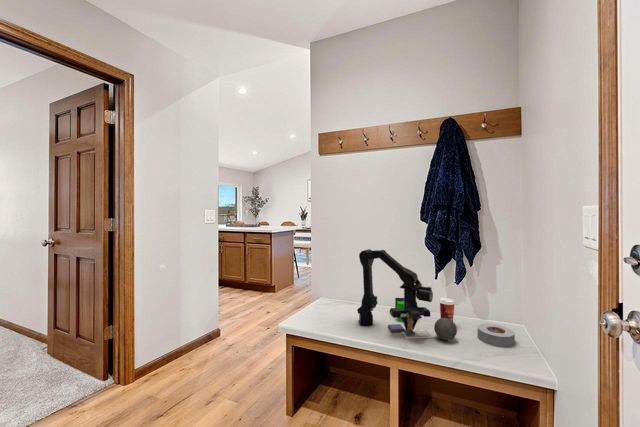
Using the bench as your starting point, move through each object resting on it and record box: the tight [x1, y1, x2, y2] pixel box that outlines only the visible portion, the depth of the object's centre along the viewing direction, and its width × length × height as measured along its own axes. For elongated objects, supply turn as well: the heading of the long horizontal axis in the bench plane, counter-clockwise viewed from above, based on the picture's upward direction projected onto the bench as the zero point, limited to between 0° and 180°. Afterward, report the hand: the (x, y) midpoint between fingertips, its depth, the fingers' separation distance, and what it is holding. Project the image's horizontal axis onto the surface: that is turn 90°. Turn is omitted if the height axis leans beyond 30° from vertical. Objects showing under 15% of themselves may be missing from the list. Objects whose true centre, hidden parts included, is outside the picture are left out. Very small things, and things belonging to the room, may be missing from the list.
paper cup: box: [439, 297, 456, 322], centre depth 163 cm, size 8×8×14 cm
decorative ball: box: [433, 317, 458, 341], centre depth 148 cm, size 10×10×10 cm
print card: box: [400, 329, 433, 339], centre depth 153 cm, size 13×8×1 cm, turn 94°
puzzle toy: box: [394, 297, 409, 323], centre depth 174 cm, size 10×10×10 cm
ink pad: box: [387, 323, 406, 334], centre depth 159 cm, size 7×7×2 cm
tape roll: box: [477, 323, 516, 348], centre depth 147 cm, size 15×15×5 cm
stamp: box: [404, 316, 415, 336], centre depth 153 cm, size 4×4×9 cm
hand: (409, 329), depth 153 cm, fingers closed on stamp, 3 cm apart
